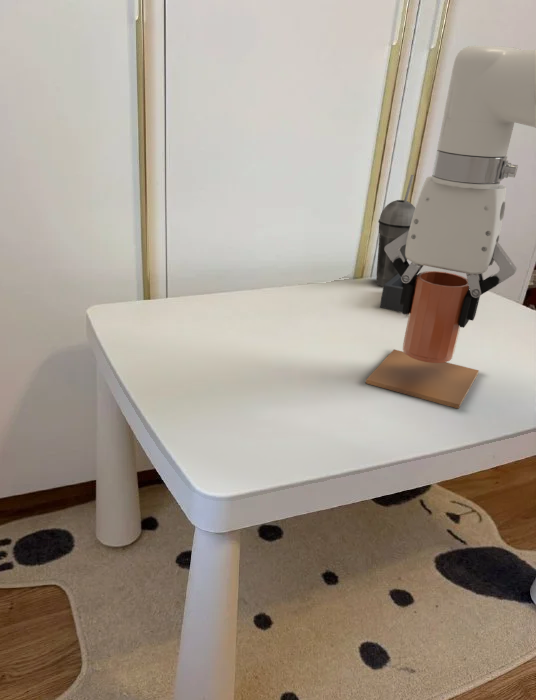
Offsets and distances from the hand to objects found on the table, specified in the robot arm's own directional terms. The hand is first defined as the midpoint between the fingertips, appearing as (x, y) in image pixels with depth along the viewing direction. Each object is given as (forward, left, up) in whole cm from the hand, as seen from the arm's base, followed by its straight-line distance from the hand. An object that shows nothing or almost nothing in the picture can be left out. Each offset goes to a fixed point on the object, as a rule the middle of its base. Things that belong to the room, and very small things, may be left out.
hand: (435, 316), depth 81 cm
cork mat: (0, 0, -9) cm, 9 cm away
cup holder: (+9, -29, -9) cm, 32 cm away
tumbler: (0, 0, -5) cm, 5 cm away
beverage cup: (+17, -38, -9) cm, 43 cm away
